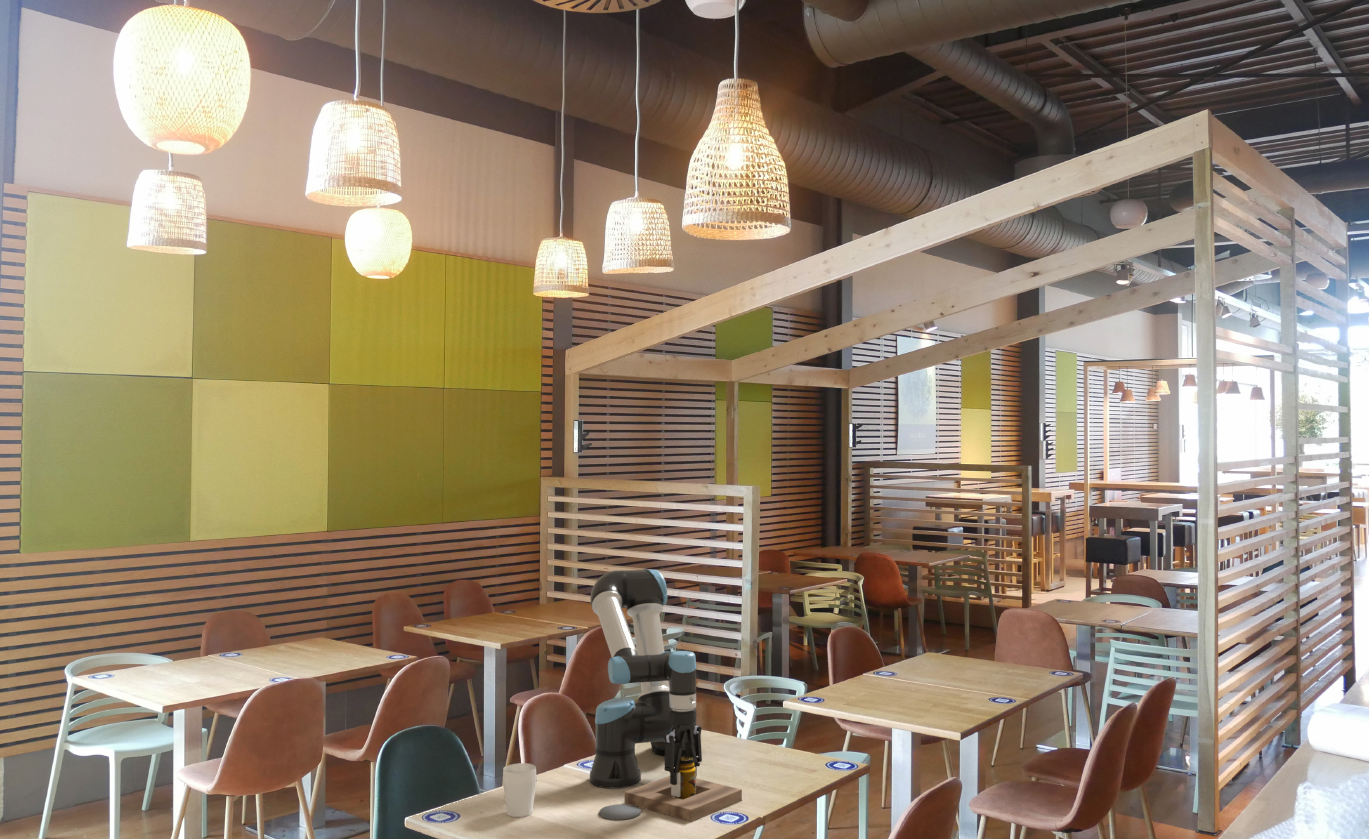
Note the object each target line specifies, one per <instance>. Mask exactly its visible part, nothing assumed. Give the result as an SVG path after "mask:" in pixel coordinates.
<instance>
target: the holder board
mask: <svg viewBox="0 0 1369 839" xmlns="http://www.w3.org/2000/svg"><path fill="white" fill-rule="evenodd" d="M623 793H624V795H623V796H624V803H623V804H627V803H628V804H627V805H630V804H631V805H633V806H634V805H635V806H636V807H637V806H638V808H640V809H645V810H648V811H652V812H656V813H660V814H663V815H667V816H669V817H670V816H671V817H674V818H677V819H681V820H684V821H689V822H693V821H696V820H699V819H700V818H704V817H706V816H708V815H711V814H714V813H715V812H718V811H720V810H722V808H723V809H724V808H727V807H729V805H730V806H732V805H735V804H737V803H739V801H740V802H742V801H743V798H742V797H743V790H742V789H740V788H737V787H733V786H728V785H725V784H720V783H717V782H712V781H708V780H704V779H699V778H696V795H694V796H691V797H689V798H686V799H684V800H682V799H678V798H675V797H674V796H672V795H671V783H670V775H668V776H665V777H663V778H660V779H657V780H654V781H651V782H649V783H645V784H643V785H640V786H637V787H634V788H632V789H628V790H626V791H624V792H623Z"/></svg>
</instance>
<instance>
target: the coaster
mask: <svg viewBox="0 0 1369 839" xmlns="http://www.w3.org/2000/svg"><path fill="white" fill-rule="evenodd" d="M598 812H599V816H600V817H601V818H603V819H605V820H609V821H611V820H612V821H627V820H632V819H635V818H637V817H639V816H640V815H641V813H642V810H641V807H637V806H634V805H630V804H627V803H623V804H622V803H620V804H618V803H617V804H609V805H607V806H604V807H602V808H601V809H599V811H598Z"/></svg>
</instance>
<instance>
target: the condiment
mask: <svg viewBox="0 0 1369 839" xmlns="http://www.w3.org/2000/svg"><path fill="white" fill-rule="evenodd" d="M678 772H680V797H676V796H674V797H675V798H678V799H682V800H684V799H686V798H689V797H691V796H694V795H696V779H697V776H696V769H695V767H694V758H693V757H690V756H681V758H680V764H679V769H678Z"/></svg>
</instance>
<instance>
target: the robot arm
mask: <svg viewBox="0 0 1369 839" xmlns="http://www.w3.org/2000/svg"><path fill="white" fill-rule="evenodd" d="M589 601H590V607H591V609H592V611H593V613H594V614H595V615H597V617H598V619H599V623H600V626H601V629H602V631H603V635H604V638H605V642H606V644H607V647H608V650H609V653H610V656H611V657H610V658H609V660H608V663H607V673H608V679H609V681H610V683H611V684H614V685H615V684H616V685H617V684H618V685H619V684H620V685H628V684H640V689H641V693H640V694H639V695H638V697H637V702H636V701H635V699H634V698H632V697H617V698H611V699H608V700H604V701H602V702H601V703H600V704H598V705H597V707H596V709H595V718H594V723H595V756H594V759H593V763H592V766H591V770H590V772H589V783H590V784H591V785H593V786H596V787H598V788H599V787H600V788H605V789H621V788H623V789H624V788H628V786H629V787H632V786H633V787H634V786H635V785H638V784H640V783H641V781H642V778H641V777H642V774H641V769H640V768H639V764H638V760H637V756H636V744H643V743H644V744H645V743H647V744H648V743H651V742H658V741H664V742H665V756H664V771H665V772H669V776H670V783H671V795H672V796H676V797H680V772H678V769H679V764H680V758H681V752H682V748H683V747H684V745H685V749H686V754H687V756H690V757H693V758H694V767H695V769H696V777H697V776H698V774H697V773H698V772H697V771H698V770H697V768H698V767H700V766H701V763H702V761H703V756H702V755H703V754H702V737H701V735H702V730H703V728H702V726H700V725H697V726H695V725H694V723H696V724H697V709H696V707H697V661H696V654H695V653H694V652H692V651H689V650H677V651H667V650H666V651H665V646H664V639H663V632H662V624H661V617H660V614H661V612H663V610H664V606H665V605H666V604H667V602H668V589H667V584H666V579H665V577H664V575H663V574H662V573H661V572H660V571H659V570H658V569H647V568H644V569H628V570H627V569H625V570H624V569H623V570H622V569H621V570H610V571H608V572H606V573H604V574H603V575H601V576H600V577H599V578H598V579H597V580H596V581H595V583H594V585H593V587H592V589H591V592H590V599H589ZM623 608H626V613H627V616H629V617H630V618H631V619H632V625H633V631H634V638H635V639H634V638H633V636H632V633H631V631H630V627H629V625H628V622H627V619H626V617H625V616H626V615H625V614H624V611H623ZM634 640H635V641H634ZM676 742H677V743H680V744H677V743H676Z"/></svg>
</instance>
